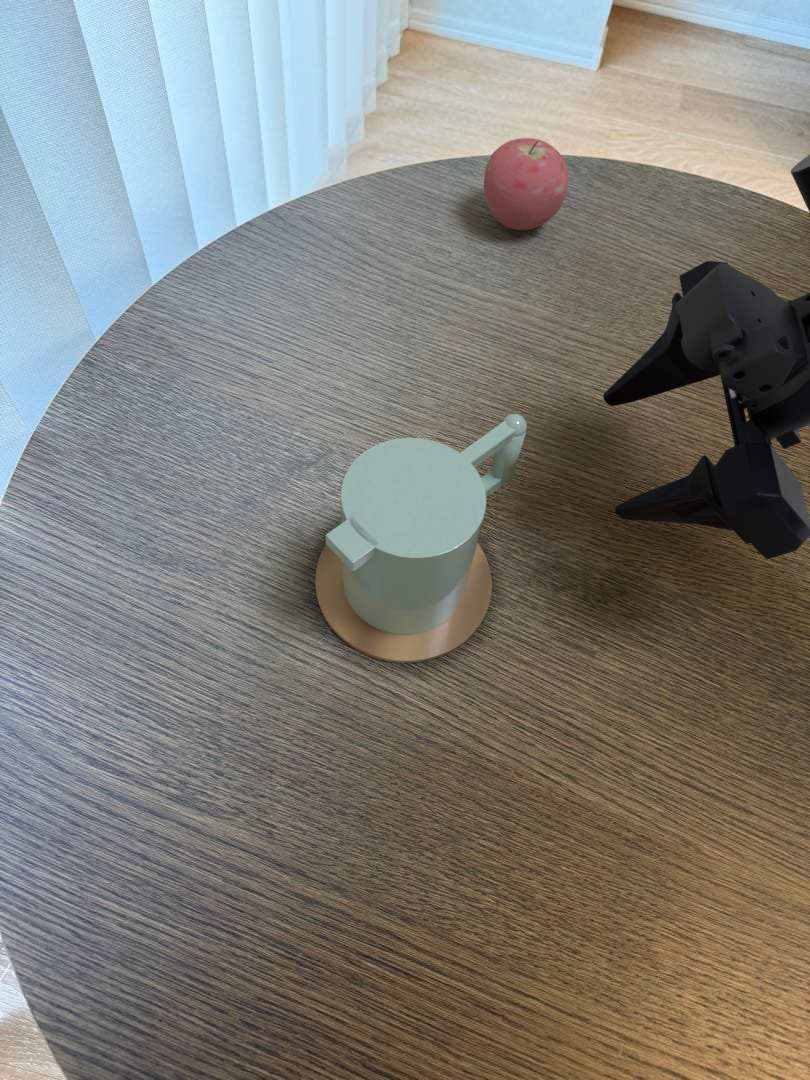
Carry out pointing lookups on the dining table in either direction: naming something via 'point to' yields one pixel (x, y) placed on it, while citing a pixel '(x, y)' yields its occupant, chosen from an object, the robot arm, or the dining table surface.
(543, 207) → the apple
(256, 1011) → the dining table surface
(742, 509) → the robot arm
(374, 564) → the jug
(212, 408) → the dining table surface
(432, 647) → the coaster
